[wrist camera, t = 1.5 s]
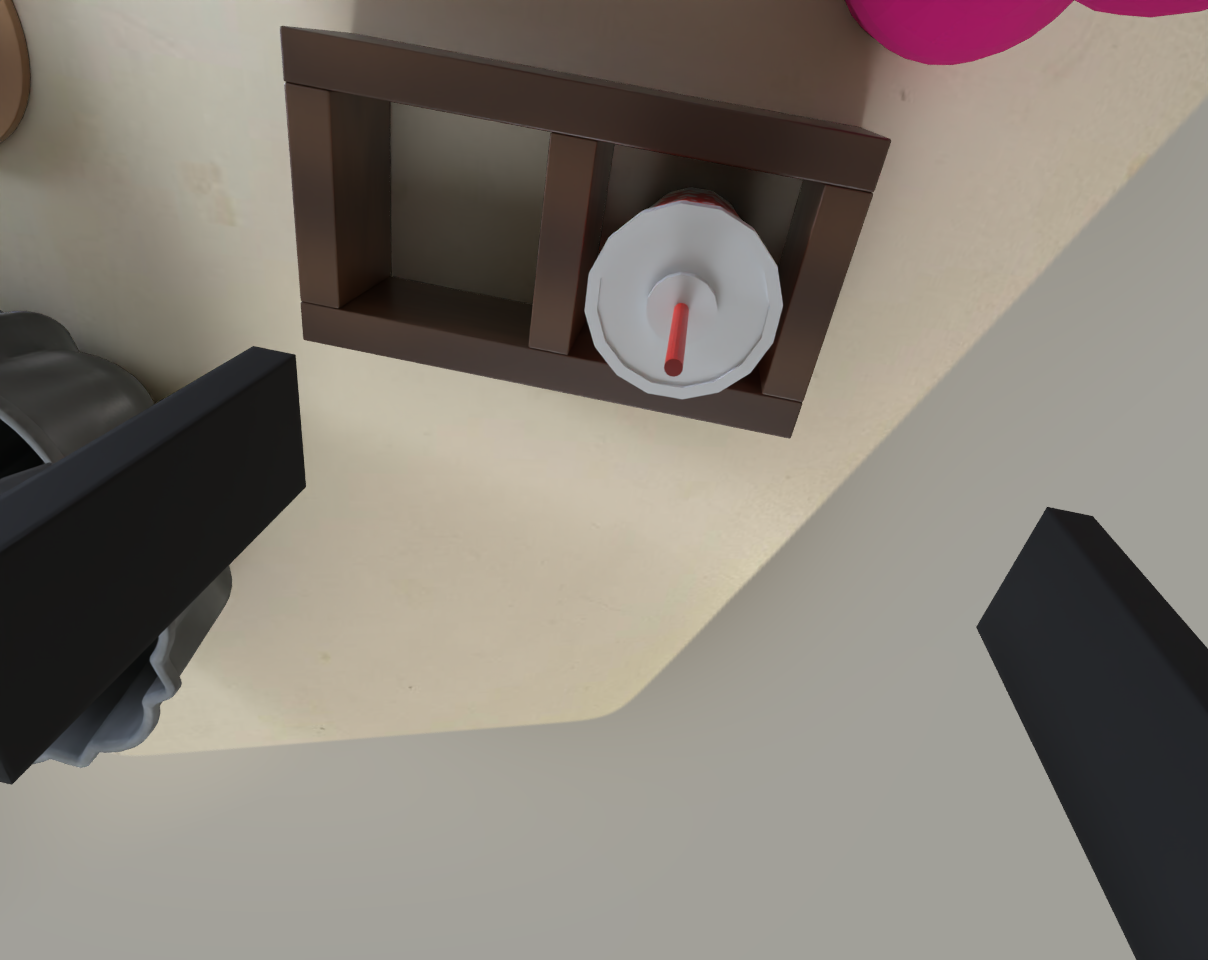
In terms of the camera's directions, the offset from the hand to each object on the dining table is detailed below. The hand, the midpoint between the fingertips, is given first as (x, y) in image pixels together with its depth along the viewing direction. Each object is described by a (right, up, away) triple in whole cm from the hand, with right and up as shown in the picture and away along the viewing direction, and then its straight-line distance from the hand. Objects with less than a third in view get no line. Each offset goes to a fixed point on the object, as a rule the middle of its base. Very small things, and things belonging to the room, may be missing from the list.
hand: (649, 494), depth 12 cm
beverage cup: (+3, +10, +17) cm, 20 cm away
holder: (-2, +11, +17) cm, 20 cm away
